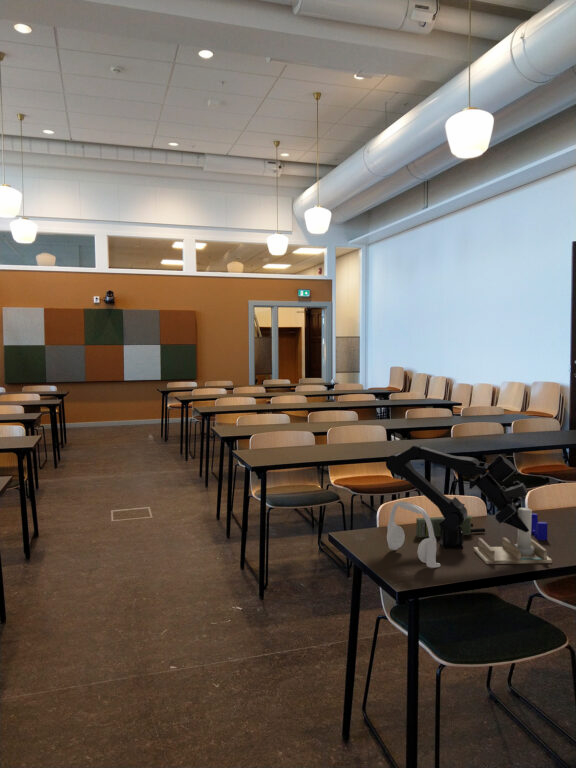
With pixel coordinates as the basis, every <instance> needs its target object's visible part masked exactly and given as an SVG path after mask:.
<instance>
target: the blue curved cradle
mask: <svg viewBox="0 0 576 768" xmlns="http://www.w3.org/2000/svg"><path fill="white" fill-rule="evenodd" d="M538 516H539V515H538V514H537V513H533V512H532V521H531V535H532V536H534V537H535V538H536V540H537V541H548V523H547V522H546V521H539V519H538V518H539V517H538Z"/></svg>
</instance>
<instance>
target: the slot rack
mask: <svg viewBox="0 0 576 768" xmlns="http://www.w3.org/2000/svg"><path fill="white" fill-rule="evenodd" d="M477 539H478V540H477V541H478V542H477V546H473V552H475V553H476V555H477V556H478V557H479V558H480V559H482V561H483V562H484V563H485V564H486V565H500V564H502V565H503V564H504V565H505V564H509V565H511V564H552V563H553V560H552V558H550V557H549V556H548V550H547V549H546V548H545V547H544V546H542V545H541V544H539V543H538V542H537V541H535V540H534V539H533V538H532V537H531V546H533V547H534V555H533V556H521V550H519V549H518V548H517V547H516V546H515V543H514V544H513V542H512V541H510V540H509V539H508V538H507V537H502V546H490V545H489V544H488V543H487V542H486V541H485V540H484V539H483V538H481V537H478V538H477Z"/></svg>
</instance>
